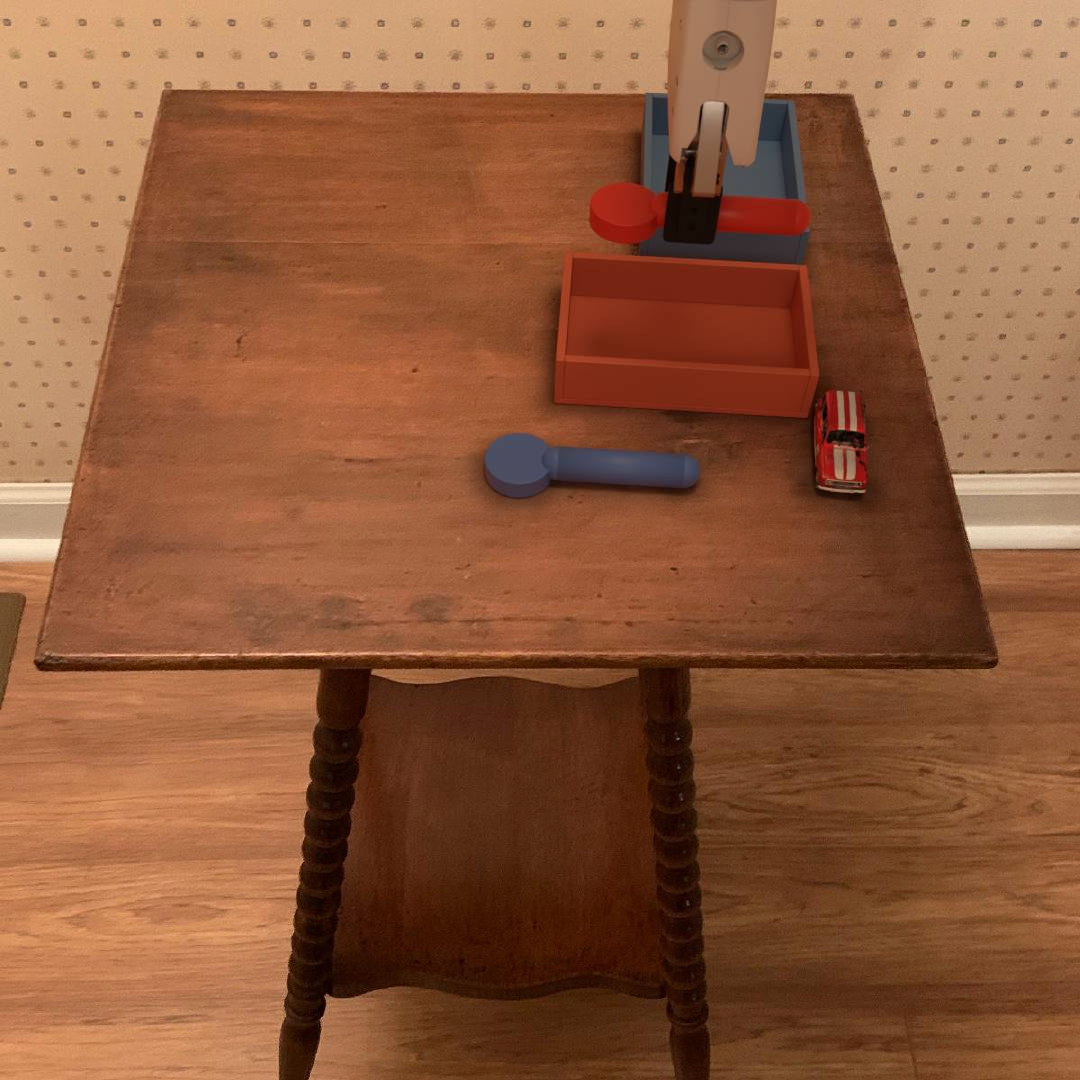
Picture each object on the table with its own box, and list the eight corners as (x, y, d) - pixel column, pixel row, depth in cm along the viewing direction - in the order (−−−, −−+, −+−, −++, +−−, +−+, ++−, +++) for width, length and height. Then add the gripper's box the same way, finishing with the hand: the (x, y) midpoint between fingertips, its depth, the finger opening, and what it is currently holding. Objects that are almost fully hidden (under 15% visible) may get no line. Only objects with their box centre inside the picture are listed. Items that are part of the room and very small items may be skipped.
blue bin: (785, 142, 100) (794, 99, 97) (799, 275, 90) (810, 231, 87) (641, 135, 101) (645, 92, 97) (638, 266, 90) (642, 222, 87)
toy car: (812, 496, 76) (822, 463, 74) (809, 407, 81) (819, 373, 79) (869, 502, 76) (881, 469, 73) (862, 412, 81) (874, 379, 78)
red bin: (796, 308, 87) (807, 264, 84) (807, 418, 80) (819, 375, 77) (563, 294, 88) (564, 251, 85) (554, 403, 81) (555, 360, 78)
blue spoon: (697, 457, 78) (701, 435, 76) (698, 509, 75) (703, 486, 74) (488, 445, 78) (487, 422, 77) (481, 496, 76) (481, 473, 74)
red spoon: (805, 211, 76) (811, 182, 75) (810, 255, 74) (817, 226, 72) (590, 198, 77) (592, 169, 75) (587, 242, 74) (589, 212, 72)
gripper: (817, 14, 56) (752, 314, 70) (794, -136, 66) (742, 154, 80) (657, 5, 56) (625, 306, 70) (658, -143, 66) (630, 148, 80)
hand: (688, 223), depth 75 cm, fingers closed on red spoon, 2 cm apart
